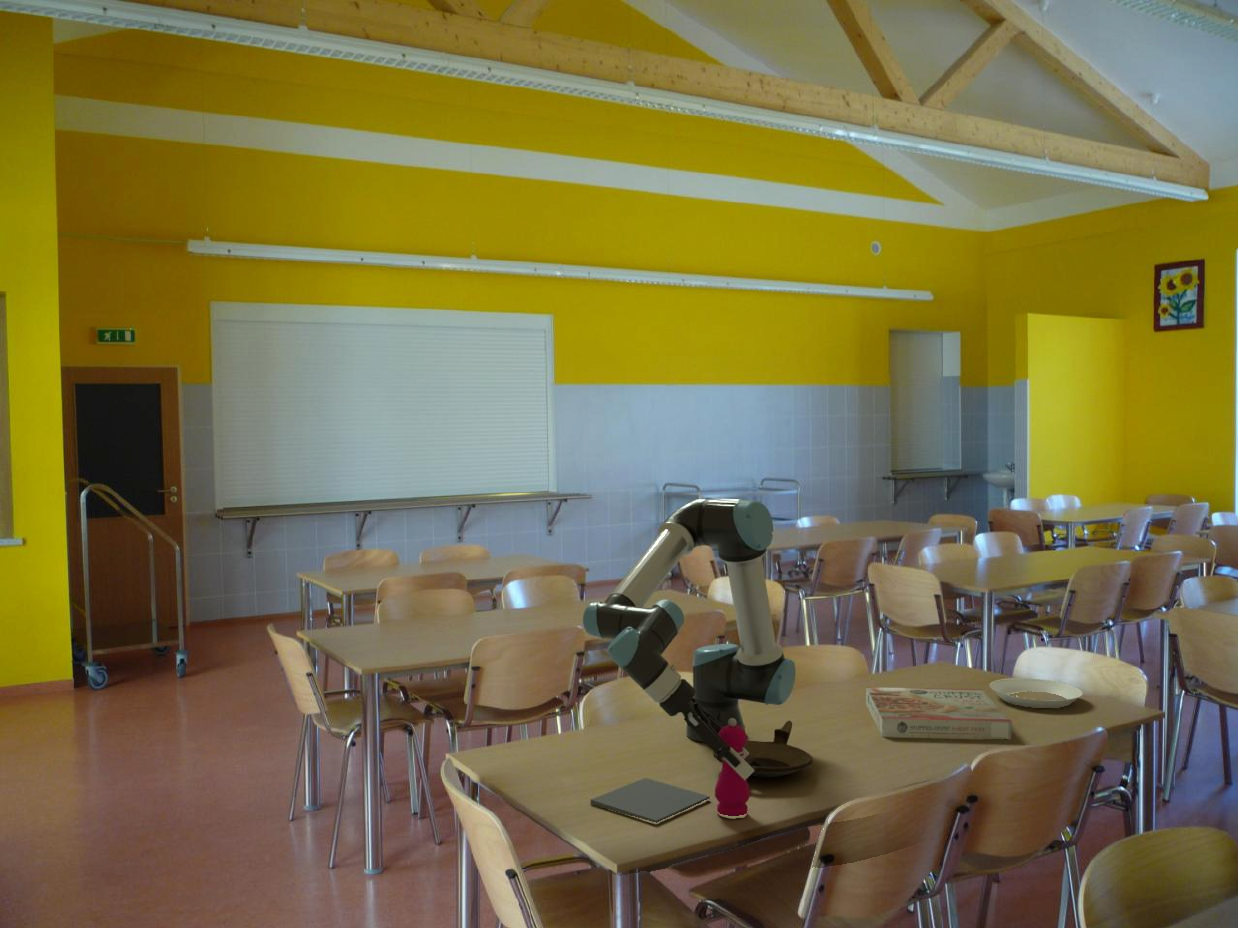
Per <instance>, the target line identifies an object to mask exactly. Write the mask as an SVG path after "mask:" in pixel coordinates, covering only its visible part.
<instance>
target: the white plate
mask: <svg viewBox="0 0 1238 928" xmlns="http://www.w3.org/2000/svg"><path fill="white" fill-rule="evenodd" d="M989 687H990V689H992V690H993V691H994V693H996V694H997V695H998V696H999V697H1000V698H1001V700H1003V701H1004V702H1005V701H1006V702H1005V703H1007V702H1008V704H1010V703H1011V704H1010V705H1013V704H1014V705H1013V706H1017V705H1020V706H1019V707H1021V706H1025V707H1024V708H1027V707H1032V708H1031V709H1035V708H1057V707H1064V706H1067V707H1068V705H1069V706H1070V705H1071V704H1072V703H1073V702H1075V701H1076V700H1077V699H1078V698H1080V697H1081V696H1083V695H1084V692H1083V690H1082V689H1080V688H1079V687H1077V686H1074V685H1072V684H1069V683H1065V682H1061V681H1056V680H1050V679H1043V678H1042V679H1041V678H1031V677H1030V678H1024V677H1017V678H1015V677H1012V678H1002V679H997V680H993V681H992V682H990V683H989ZM1027 691H1030V692H1031V691H1032V692H1034V691H1035V692H1047V693H1051V694H1056V695H1059V696H1062V697H1064V698H1066V699H1067V700H1035V699H1026V698H1019V697H1018V696H1017V695H1016V697H1014V696H1010V695H1009V694H1014V693H1019V692H1027ZM1064 708H1065V707H1064Z"/></svg>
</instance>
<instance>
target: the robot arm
mask: <svg viewBox="0 0 1238 928" xmlns="http://www.w3.org/2000/svg"><path fill="white" fill-rule="evenodd" d="M773 532H774V521H773V518H772V515H771V512H770V510H769V508H768V507H767V506H766V505H765V504H764V503H762V502H761V501H759V500H754V499H748V498H719V497H718V498H717V497H714V498H713V497H701V498H697V499H693V500H691V501H690V502H687V503H685V504H684V505H682V506H680V507H679V508H677V509H676V510H675V511H674V512H672V513H671V514H670V515H669V516H667V518H666V519H665V520H664V521H663V522H662V524H661V525H660V526H659V528H658V530H657V537H656V538H655V539H654V540H653V542H652V543H651V544H650V545H649V546H648V548H647V549H646V550H645V552H643V554H642V555H641V556H640V557H639V559H638V560H637V561H636V562H635V563H634V565H633V566H632V568H630V569H629V571H628V572H627V574H626V575H624V578H623V579H621V581H620V582H619V583H618V584H617V586H616V587H615V588H614V590H613V591H612V592H611V593H610V595H609V596H608V597H607V598H606V599H605V600H604V601H603V602H602V601H598V602H594V601H593V602H591V603H589V604H588V605H587V606H586V608H585V609H584V611H583V617H582V626H583V628H584V630H585V632H586V633H587V634H588V635H590V636H592V637H597V638H601V639H607V640H608V639H609V640H612V641H611V642H610V644H609V645H608V647H607V653H608V655H609V657H610V658H611V659H612V660H613V662H615V664H616V665H617V666H618V668H620V669H621V670H622V671H624V672H625V673H626V674H627V675H628V676H629V677H630V679H632V680H633V681H634V682H635V683H636V684H637V685H638V686H639V687H640V688H641V690H642V691H643V692H645V694H646V695H648V697H649V698H651V699H652V700H653V702H655V703H658V704H659V707H660V708H661V709H662V710H663V711H664V712H665V713H666V714H667V715H668V716H669V717H674V716H677V715H678V714H679V713H681V714H682V715H683V717H684V718H683V720H684V721H685V723H686V734H685V735H686V737H688V738H689V739H691V740H693V741H696V740H697V741H696V742H700V741H701V742H700V743H705V744H706V745H707V746H708V747H709V748H710V749H711V750H712V752H713V751H714V752H715V754H716V755H717V756H718V757H717V759H718V760H719V761H720V760H721V759H722V758H723V759H724V760H725V761H726V762H727V763H728V764H729V765H730V766H731V767H732V768H733V769H734V770H735V771H736V772H737V773H738V774H739V775H740V776H741V777H742V778H743V779H744V780H746V781H747V779H748V778H749V777H750V776H752V775H751V774H752V773H753V772H754V769H753V768H752V767H751V766H750V765H749V764H748V763H747V762H746V761H745V760H744V759H745V758H746V757H747V756H748V755H749V753H748V752H747V751H746V750H745V749H744V748H743V749H744V750H745V752H744V755H745V756H744V757H743V758H742V757H741V756H740V755H739V754H738V753H737V752H736V751H735V750H734V749H733V748H732V747H731V748H730V747H729V746H728V745H727V744H726V743H725V742H724V740H723V739H722V738H721V737H720V736H719V735H718V733H719V731H720V730H721V729H722V728H723V727H724V726H727V725H729V724H728V720H729V719H730V718H734V719H735V720H736V722H737V724H736V725H737V726H739V727H741V728H743V730H744V731H745V732H746V726H745V724H744V720H743V716H742V712H741V710H740V707H739V706H740V705H739V700H741V701H743V700H744V701H747V702H754V703H761V704H765V705H773V706H774V705H775V706H781V705H783V704H785V703H786V702H787V700H788V699H789V698H790V696H791V694H792V691H793V688H794V686H795V682H796V674H797V673H796V670H797V669H796V664H795V662H794V660H792V659H790V658H788V657H785V655H784V649H783V646H781V645H780V644H779V643H778V642H776V639H775V638H776V637H775V632H774V626H773V624H774V623H773V618H772V612H771V607H770V601H769V596H768V595H769V593H768V589H767V588H768V587H767V581H766V575H765V569H764V562H763V557H764V556H765V554H767V550H768V547H769V546H770V545H771V544H772V542H773V537H774V535H773ZM701 546H707V547H716V548H717V554H718V558H719V559H720V560H721V561H722V562H723V563H725V564H726V569H727V575H728V579H729V585H730V591H731V593H730V594H731V597H732V603H733V609H734V616H735V621H736V627H737V632H738V637H739V643H740V648H739V646H738V645H737V644H735V643H720V644H719V643H718V644H717V643H716V644H712V645H704V646H702V647H699V648H696V650H694V652H693V657H692V659H693V660H692V666H691V667H692V685H691V684H690V682H688V681H687V680H686V678H685V679H684V678H682V676H681V674H680V673H679V672H678V671H676V669H677V666H676V665H674V664H673V665H670V663H669V662H668V661H667V660H666V659H665V657H663V653H664V652H665V651H666V649H667V648H668V646H670V644H671V643H672V641H674V639H675V637H677V635H678V634H679V631H680V629H682V627H683V625H684V623H685V615H684V613H683V610H682V608H681V607H680V606H679V605H678V604H677V603H675V602H673V601H672V600H670V599H661V600H657V601H656V602H655V603H654V604H653V605H652V607H645V606H646V604H647V603H648V601H649V600H650V599H651V597H653V595H654V593H655V592H656V591H657V590H658V588H659V587H660V586H661V584H662V583H663V582H664V581H665V579H666V578H667V577H668V576H669V574H671V571H673V570H674V568H675V567H676V565H677V564H678V562H680V560H681V559H682V557H683V556H687V555H689V554H690V553H692V551H693V550H694V549H695V548H697V547H701ZM722 747H723V748H722ZM721 748H722V749H721ZM720 749H721V750H720ZM717 759H716V760H717ZM718 760H717V761H718ZM719 761H718V762H719Z"/></svg>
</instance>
